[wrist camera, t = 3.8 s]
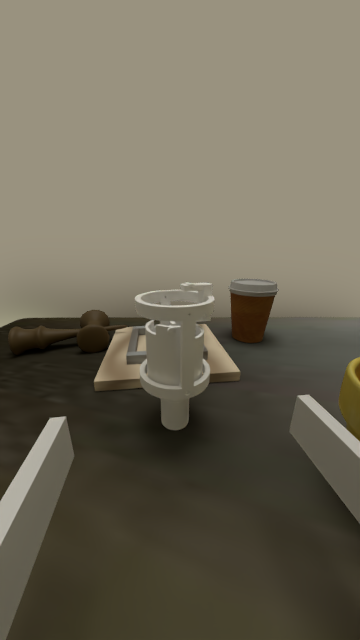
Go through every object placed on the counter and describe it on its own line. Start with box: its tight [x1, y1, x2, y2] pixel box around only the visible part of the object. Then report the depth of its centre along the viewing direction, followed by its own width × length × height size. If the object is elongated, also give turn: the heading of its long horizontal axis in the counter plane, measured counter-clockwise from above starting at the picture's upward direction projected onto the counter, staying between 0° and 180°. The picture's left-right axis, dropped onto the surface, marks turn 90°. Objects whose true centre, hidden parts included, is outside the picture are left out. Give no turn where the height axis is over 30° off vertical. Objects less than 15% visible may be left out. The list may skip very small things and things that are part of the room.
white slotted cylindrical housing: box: [135, 282, 214, 430], centre depth 21 cm, size 7×7×15 cm
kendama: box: [8, 310, 127, 355], centre depth 40 cm, size 6×10×20 cm
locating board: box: [94, 324, 240, 391], centre depth 38 cm, size 20×20×3 cm
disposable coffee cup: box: [229, 279, 278, 343], centre depth 43 cm, size 10×10×12 cm
